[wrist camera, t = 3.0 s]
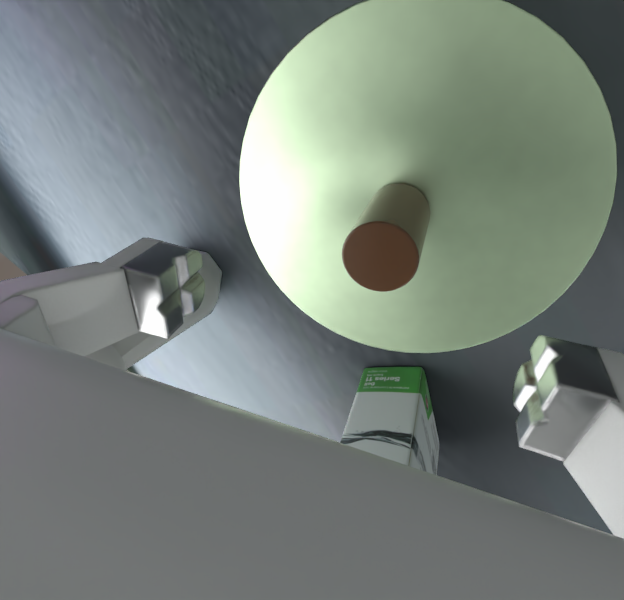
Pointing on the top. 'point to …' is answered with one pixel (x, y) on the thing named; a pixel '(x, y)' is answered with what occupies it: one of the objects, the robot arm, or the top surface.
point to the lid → (428, 172)
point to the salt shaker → (146, 343)
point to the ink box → (394, 417)
